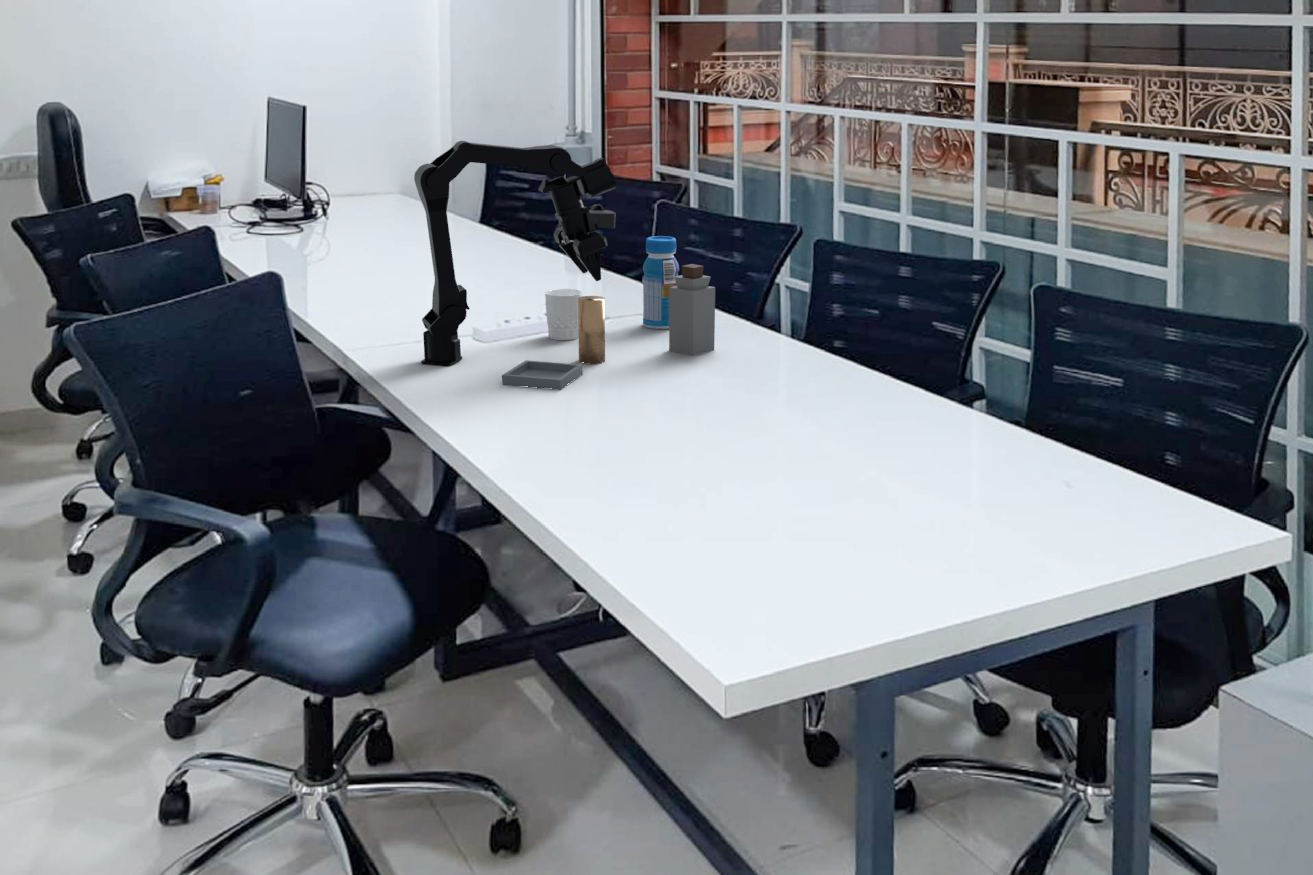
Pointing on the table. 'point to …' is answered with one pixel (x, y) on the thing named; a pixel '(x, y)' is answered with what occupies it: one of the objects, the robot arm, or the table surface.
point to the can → (591, 329)
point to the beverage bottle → (658, 280)
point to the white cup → (562, 313)
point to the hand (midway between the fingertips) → (591, 276)
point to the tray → (542, 374)
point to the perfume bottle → (692, 312)
